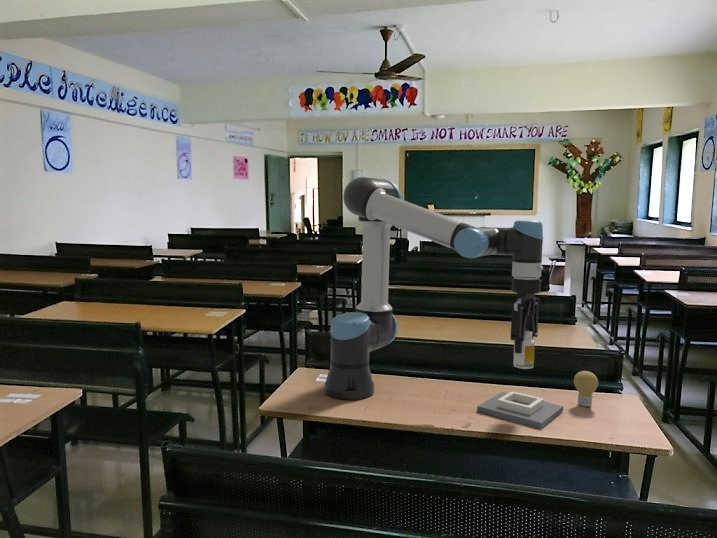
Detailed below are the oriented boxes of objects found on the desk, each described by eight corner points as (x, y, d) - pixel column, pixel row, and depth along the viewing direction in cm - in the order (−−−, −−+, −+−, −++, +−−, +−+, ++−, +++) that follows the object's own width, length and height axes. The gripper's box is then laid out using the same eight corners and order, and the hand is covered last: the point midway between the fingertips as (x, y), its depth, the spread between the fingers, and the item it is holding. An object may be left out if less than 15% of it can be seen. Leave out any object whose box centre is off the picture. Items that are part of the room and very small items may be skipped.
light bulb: (599, 410, 151) (602, 375, 150) (576, 408, 151) (578, 374, 150) (592, 402, 157) (594, 368, 156) (569, 401, 158) (571, 367, 157)
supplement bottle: (537, 368, 145) (538, 333, 144) (518, 369, 144) (520, 334, 143) (528, 363, 150) (529, 329, 149) (509, 364, 149) (511, 329, 148)
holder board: (477, 411, 148) (477, 399, 148) (502, 396, 160) (502, 385, 160) (541, 428, 137) (542, 415, 136) (563, 411, 149) (563, 399, 149)
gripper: (526, 282, 135) (523, 372, 138) (552, 276, 149) (549, 357, 152) (498, 279, 140) (495, 366, 142) (526, 274, 154) (523, 353, 156)
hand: (523, 361), depth 147 cm, fingers closed on supplement bottle, 5 cm apart
